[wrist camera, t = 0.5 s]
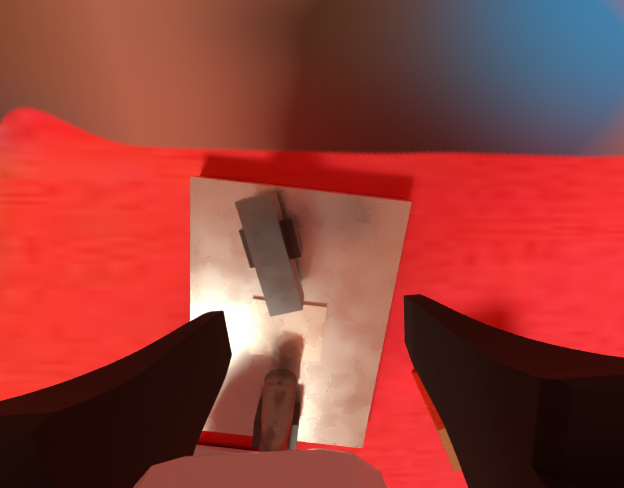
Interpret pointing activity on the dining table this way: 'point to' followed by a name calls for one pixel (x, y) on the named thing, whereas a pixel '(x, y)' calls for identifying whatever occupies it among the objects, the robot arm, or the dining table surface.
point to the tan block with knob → (437, 423)
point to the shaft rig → (295, 304)
